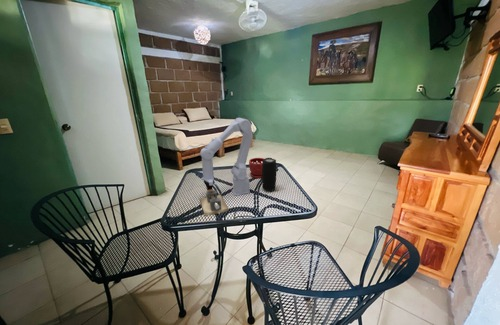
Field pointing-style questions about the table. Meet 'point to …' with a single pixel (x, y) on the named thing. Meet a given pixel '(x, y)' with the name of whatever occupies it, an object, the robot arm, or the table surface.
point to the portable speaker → (269, 174)
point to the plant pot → (256, 167)
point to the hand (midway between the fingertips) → (209, 192)
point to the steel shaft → (213, 198)
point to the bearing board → (209, 206)
